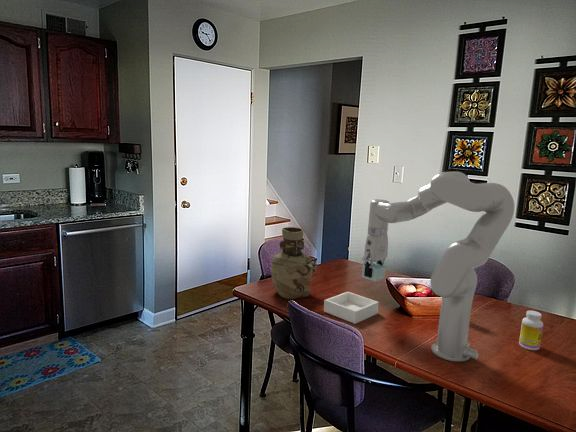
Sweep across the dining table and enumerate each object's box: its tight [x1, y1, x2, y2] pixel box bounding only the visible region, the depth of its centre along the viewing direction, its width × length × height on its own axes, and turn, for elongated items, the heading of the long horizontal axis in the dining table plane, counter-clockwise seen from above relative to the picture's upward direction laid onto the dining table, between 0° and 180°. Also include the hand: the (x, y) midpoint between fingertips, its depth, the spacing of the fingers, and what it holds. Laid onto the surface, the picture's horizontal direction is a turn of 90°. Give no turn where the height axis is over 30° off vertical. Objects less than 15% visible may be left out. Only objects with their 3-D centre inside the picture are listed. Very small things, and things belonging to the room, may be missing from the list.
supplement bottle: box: [518, 310, 544, 351], centre depth 155 cm, size 7×7×13 cm
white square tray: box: [323, 291, 380, 325], centre depth 181 cm, size 16×16×5 cm
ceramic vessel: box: [270, 226, 318, 300], centre depth 198 cm, size 19×21×30 cm
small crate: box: [361, 262, 387, 282], centre depth 172 cm, size 6×6×5 cm
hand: (373, 274), depth 173 cm, fingers closed on small crate, 6 cm apart
